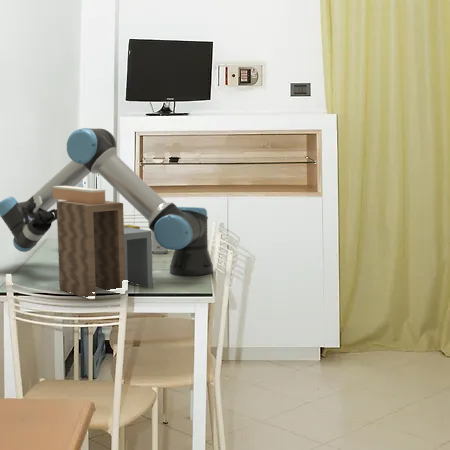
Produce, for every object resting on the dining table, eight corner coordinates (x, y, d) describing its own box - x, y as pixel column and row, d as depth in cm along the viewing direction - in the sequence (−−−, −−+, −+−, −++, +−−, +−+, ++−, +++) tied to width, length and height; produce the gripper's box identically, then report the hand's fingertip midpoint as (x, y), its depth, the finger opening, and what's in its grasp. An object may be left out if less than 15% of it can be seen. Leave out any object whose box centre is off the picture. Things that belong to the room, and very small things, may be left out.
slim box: (53, 198, 246) (52, 186, 246) (65, 197, 249) (65, 185, 248) (92, 203, 226) (91, 190, 225) (105, 202, 229) (105, 189, 228)
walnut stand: (59, 289, 239) (56, 201, 236) (93, 284, 247) (90, 198, 243) (90, 299, 224) (87, 205, 220) (125, 294, 231) (123, 203, 228)
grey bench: (94, 282, 249) (92, 228, 247) (123, 278, 256) (122, 225, 254) (123, 291, 235) (121, 234, 233) (152, 286, 242) (151, 231, 240)
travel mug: (160, 254, 305) (159, 205, 303) (149, 253, 310) (148, 204, 307) (171, 252, 310) (170, 204, 308) (160, 251, 314) (159, 203, 312)
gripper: (72, 232, 268) (97, 205, 253) (5, 239, 253) (26, 211, 237) (67, 213, 270) (91, 186, 255) (-1, 219, 255) (20, 190, 239)
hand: (60, 198), depth 246 cm, fingers open, 13 cm apart
